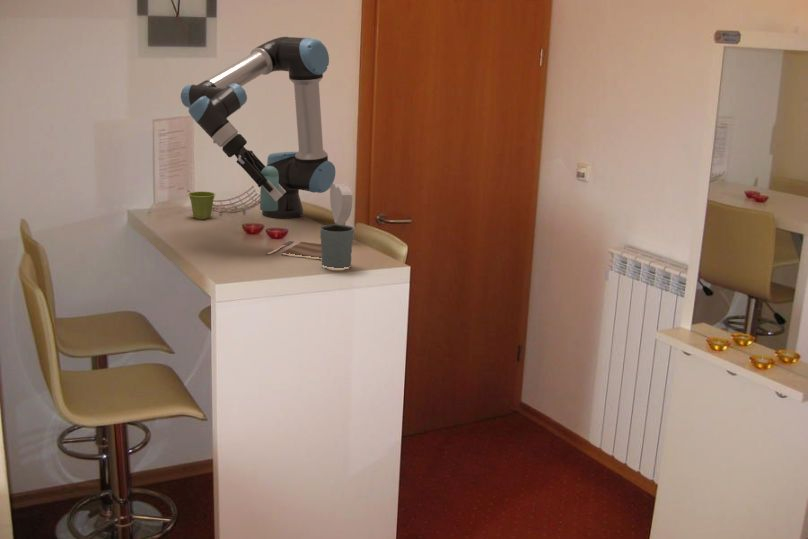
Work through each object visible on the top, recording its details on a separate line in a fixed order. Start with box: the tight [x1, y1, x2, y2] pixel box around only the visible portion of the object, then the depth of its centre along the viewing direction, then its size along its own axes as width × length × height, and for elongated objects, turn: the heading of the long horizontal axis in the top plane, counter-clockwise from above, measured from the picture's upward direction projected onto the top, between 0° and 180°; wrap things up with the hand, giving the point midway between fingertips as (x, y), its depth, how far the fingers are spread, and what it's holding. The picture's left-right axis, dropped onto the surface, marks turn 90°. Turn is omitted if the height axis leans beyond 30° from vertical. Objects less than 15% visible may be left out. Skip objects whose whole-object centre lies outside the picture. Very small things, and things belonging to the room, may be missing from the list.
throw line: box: [282, 240, 294, 246], centre depth 296 cm, size 18×2×1 cm, turn 163°
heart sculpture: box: [329, 183, 353, 225], centre depth 311 cm, size 16×5×18 cm, turn 19°
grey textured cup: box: [319, 224, 355, 268], centre depth 276 cm, size 10×10×12 cm
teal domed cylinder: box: [259, 165, 279, 211], centre depth 290 cm, size 6×6×14 cm
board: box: [281, 241, 322, 258], centre depth 293 cm, size 16×14×1 cm
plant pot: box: [187, 191, 216, 220], centre depth 332 cm, size 9×9×9 cm
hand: (280, 196), depth 291 cm, fingers closed on teal domed cylinder, 5 cm apart
